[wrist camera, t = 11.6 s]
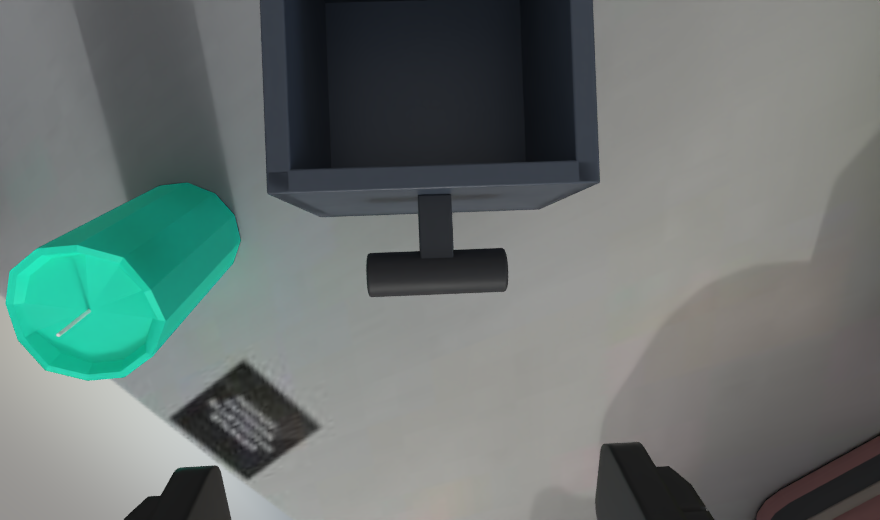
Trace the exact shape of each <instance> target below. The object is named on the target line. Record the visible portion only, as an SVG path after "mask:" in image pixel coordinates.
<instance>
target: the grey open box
mask: <svg viewBox="0 0 880 520" xmlns="http://www.w3.org/2000/svg"><path fill="white" fill-rule="evenodd" d="M260 16H261V42H262V68H263V94H264V121H265V147H266V173H267V193H268V194H269V195H271V196H274V197H276V198H278V199H281V200H283V201H285V202H287V203H290V204H292V205H294V206H297V207H299V208H301V209H303V210H306V211H308V212H310V213H312V214H315V215H317V216H319V217H338V216H366V215H394V214H418V217H419V243H420V251H414V252H388V253H370V254H368V256H367V265H366V272H367V288H368V293H369V296H370V297H384V296H409V295H433V294H458V293H482V292H504V291H506V289H507V285H508V262H507V256H506V252H505V250H504V249H503V248H493V249H466V250H453V226H452V212H478V211H506V210H534V209H541V208H543V207H546V206H548V205H550V204H552V203H555V202H557V201H559V200H561V199H564V198H566V197H568V196H570V195H573V194H575V193H577V192H579V191H582V190H584V189H586V188H588V187H591V186H593V185H595V184H597V183H599V182H600V171H599V147H598V122H597V96H596V71H595V45H594V20H593V0H260Z"/></svg>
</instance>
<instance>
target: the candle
mask: <svg viewBox="0 0 880 520" xmlns="http://www.w3.org/2000/svg"><path fill="white" fill-rule="evenodd" d="M240 242H241V239H240V235H239V231H238V227H237V223H236V219H235V215H234V214H233V213H232V212H231V211H230V209H229V208H228V207H227V206H226V205H225V204H224V203H223V202H222V201H221V199H220V198H219V197H218V196H217V195H216V194H215V193H213V192H210V191H207V190H205V189H202V188H200V187H197V186H195V185H192V184H190V183H178V184H169V185H160V186H158V187H156V188H154V189H152V190H150V191H148V192H146V193H144V194H142V195H140V196H138V197H136V198H134V199H132V200H130V201H128V202H126V203H124V204H123V205H121V206H119V207H117V208H115V209H113V210H111V211H109V212H107V213H105V214H103V215H101V216H99V217H97V218H95V219H93V220H91V221H89V222H87V223H85V224H84V225H82V226H80V227H78V228H76V229H74V230H72V231H70V232H68V233H66V234H64V235H62V236H60V237H58V238H56V239H54V240H52V241H50V242H48V243H46V244H45V245H43V246H41V247H39V248H37V249H36V250H34V251H33V252H32V253H31V254H30V255H28V256H27V257H26V258H25V259H24V260H22V261H21V262H20V263H19V264H18V265H16V266H15V267H14V268H13V269H11V270H10V272H9V280H8V288H7V296H6V306H7V309H8V312H9V315H10V318H11V321H12V324H13V327H14V330H15V333H16V336H17V339H18V341H19V342H20V343H21V344H22V345H23V346H24V347H25V348H26V350H27V351H28V352H29V353H30V354H31V355H32V356H33V357H34V358H35V359H36V361H37V362H38V363H39V364H40V365H41V366H42V367H43V368H44V369H45V370H46V371H50V372H54V373H58V374H62V375H66V376H71V377H74V378H79V379H83V380H87V381H89V380H101V379H112V378H123V377H126V376H127V375H128V374H130V373H131V372H132V371H134V370H135V369H136V368H138V367H139V366H140V365H142V364H143V363H144V362H146V361H147V360H148V359H150V358H151V357H152V356H153V355H154V354H155V353H156V352H157V351H158V350H159V348H160V347H161V346H162V345H163V344H164V343H165V341H166V340H167V339H168V338H169V337H170V336H171V335H172V333H173V332H174V331H175V330H176V329H177V328H178V326H179V325H180V324H181V323H182V322H183V321H184V319H185V318H186V317H187V316H188V315H189V314H190V313H191V311H192V310H193V309H194V308H195V307H196V306H197V304H198V303H199V302H200V301H201V300H202V299H203V298H204V296H205V295H206V294H207V293H208V292H209V291H210V289H211V288H212V287H213V286H214V285H215V284H216V283H217V281H218V280H219V279H220V278H221V277H222V276H223V274H224V273H225V272H226V271H227V270H228V269H229V267H230V266H231V265H232V264H233V262H234V259H235V256H236V253H237V250H238V247H239V245H240Z"/></svg>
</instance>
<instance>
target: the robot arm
mask: <svg viewBox="0 0 880 520" xmlns="http://www.w3.org/2000/svg"><path fill="white" fill-rule="evenodd" d="M595 504H596V514H597V520H714V519H713V517H712V516H711V514H710V512H709V511H706V508H705V505H704V503H703V502H702V500H701V499H700V497H699V496H698V494H697V493H696V491H695V490H694V488H693V487H692V485H691V484H690V483H689V482H687V481H686V480H685V479H684V478H683V477H681V476H680V475H679V474H678V473H676V472H675V471H674V470H673V469H672V468H670V467H669V466H665V467H656V466H655V465H654V463H653V461H652V460H651V458H650V456H649V455H648V453H647V451H646V450H645V448H644V447H643V445H642V444H641V443H639V442H629V443H612V444H603V445H602V447H601V451H600V460H599V470H598V479H597V489H596V499H595ZM124 520H231V516H230V511H229V507H228V502H227V498H226V493H225V489H224V485H223V480H222V476H221V471H220V469H219V467H218V466H200V467H184V468H178V469H177V470H176V471H175V472H174V473H173V475H172V477H171V478H170V480H169V482H168V484H167V485H166V487H165V489H164V491H163V493H162V494H161V496H151V497H147V498H146V499H145V500H144V501H143V502H142V503H141V504H140V505H138V506H137V507H136V508H135V509H134V510H133V511H132V512H131V513H130V514H129V515H128V516H127V517H126V518H125V519H124Z"/></svg>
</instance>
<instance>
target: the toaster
mask: <svg viewBox="0 0 880 520" xmlns="http://www.w3.org/2000/svg"><path fill="white" fill-rule="evenodd" d="M756 520H880V436H878V437H876V438H874V439H872V440H871V441H869V442H867V443H865V444H863V445H862V446H860V447H858V448H856V449H854V450H852V451H851V452H849V453H847V454H845V455H843V456H842V457H840V458H838V459H836V460H834V461H832V462H831V463H829V464H827V465H825V466H823V467H822V468H820V469H818V470H816V471H814V472H812V473H811V474H809V475H807V476H805V477H803V478H802V479H800V480H798V481H796V482H794V483H792V484H791V485H789V486H787V487H785V488H783V489H782V490H780V491H778V492H777V493H776V494H774V495H773V496H772V497H770V498H769V499H768V500H766V501H765V503H764V504H763V506H762V507H761V508H760V510H759V511H758V513H757V517H756Z"/></svg>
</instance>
